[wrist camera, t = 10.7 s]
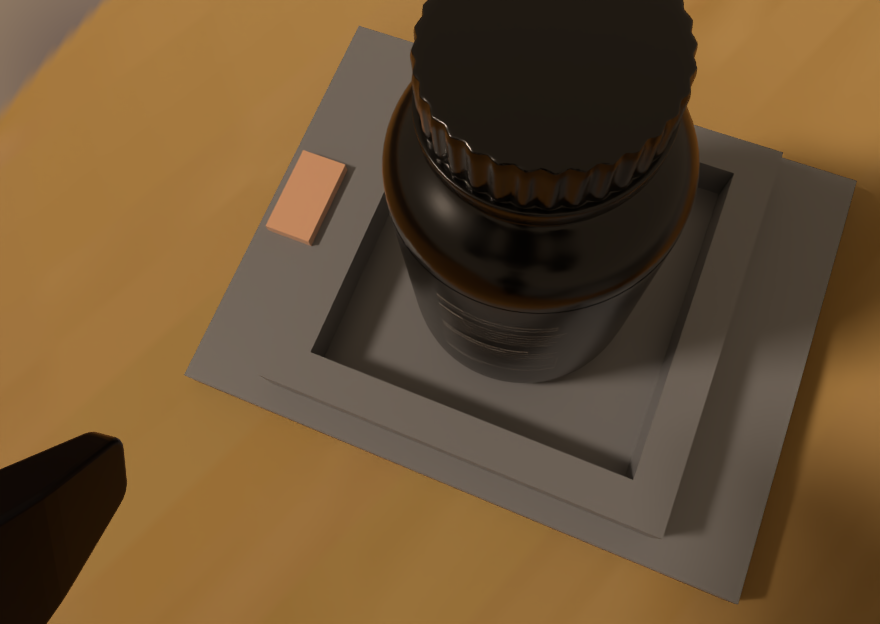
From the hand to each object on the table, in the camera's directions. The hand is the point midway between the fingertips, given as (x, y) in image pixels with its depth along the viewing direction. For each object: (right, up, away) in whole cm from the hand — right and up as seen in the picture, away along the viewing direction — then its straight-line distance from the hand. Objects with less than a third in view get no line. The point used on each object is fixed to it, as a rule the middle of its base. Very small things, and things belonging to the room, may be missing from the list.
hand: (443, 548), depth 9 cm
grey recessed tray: (+3, +4, +15) cm, 16 cm away
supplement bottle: (+3, +4, +14) cm, 15 cm away
